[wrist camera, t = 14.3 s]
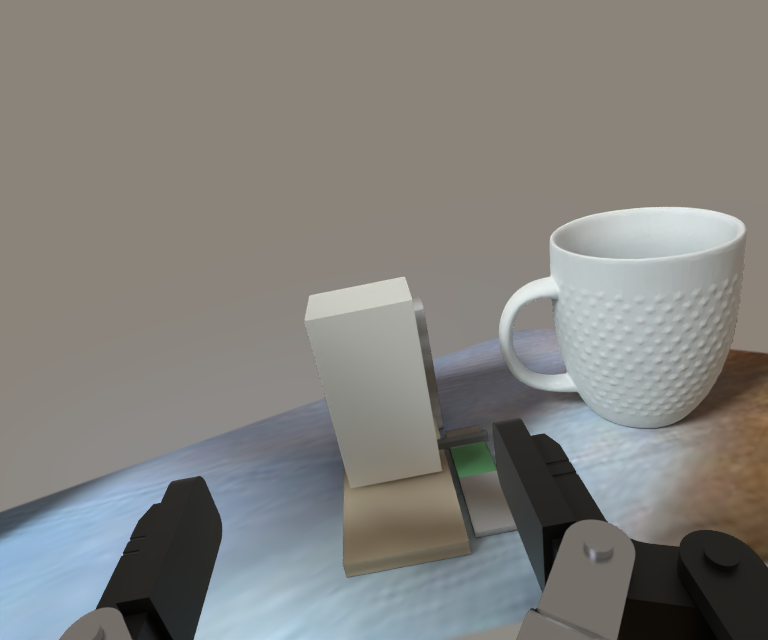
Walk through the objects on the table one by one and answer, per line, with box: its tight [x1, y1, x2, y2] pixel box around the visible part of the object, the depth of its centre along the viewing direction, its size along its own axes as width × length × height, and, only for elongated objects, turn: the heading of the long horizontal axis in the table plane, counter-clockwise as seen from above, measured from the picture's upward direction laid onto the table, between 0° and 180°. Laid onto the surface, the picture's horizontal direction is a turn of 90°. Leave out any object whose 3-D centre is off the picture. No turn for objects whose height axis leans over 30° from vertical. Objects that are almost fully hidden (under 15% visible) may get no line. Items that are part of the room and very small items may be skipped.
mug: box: [499, 207, 747, 428], centre depth 34 cm, size 15×11×13 cm
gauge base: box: [343, 296, 518, 577], centre depth 32 cm, size 14×10×10 cm
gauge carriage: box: [304, 277, 489, 488], centre depth 31 cm, size 4×10×12 cm, turn 94°
